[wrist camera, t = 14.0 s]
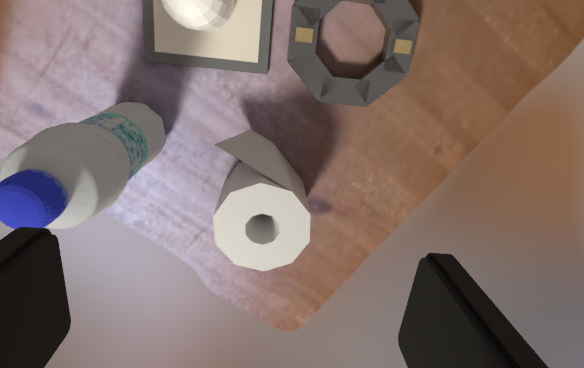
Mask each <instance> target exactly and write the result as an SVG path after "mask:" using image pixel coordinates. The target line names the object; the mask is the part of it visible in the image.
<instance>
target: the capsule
mask: <svg viewBox="0 0 584 368" xmlns="http://www.w3.org/2000/svg"><path fill="white" fill-rule="evenodd" d="M161 1H162V4H163V6H164V9H165V10H166V12H167V13H168V14H169V15H170V16H171V17H172V19H173V20H174V21H175V22H176V23H178V24H180V25H182V26H184V27H185V28H187V29H193V30H199V31H208V32H212V31H215V30H218V29H221V28H222V27H223V26H224V25H225V24H226V23H227V22H228V21H229V20H230V17H231V15H232V13H233V11H234V0H161Z"/></svg>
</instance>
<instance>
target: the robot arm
mask: <svg viewBox="0 0 584 368" xmlns="http://www.w3.org/2000/svg"><path fill="white" fill-rule="evenodd" d="M70 324H71V318H70V312H69V305H68V299H67V294H66V287H65V280H64V274H63V268H62V262H61V256H60V250H59V243H58V239H57V237H56V236H55V235H52V234H51V232H50V231H49V230H48V229H46V228H33V227H19V228H17V229H15V230H14V231H12V232H11V233H10V234H8V235H7V236H5V237H4V238H3V239H1V240H0V368H44V367H45V365H46V364H47V362H48V361H49V360H50V358H51V357H52V355H53V354H54V353H55V351H56V350H57V348H58V347H59V345H60V344H61V343H62V341H63V340H64V338H65V337H66V335H67V334H68V331H69V329H70ZM398 341H399V347H400V350H401V352H402V354H403V357H404V359H405V362H406V364H407V366H408V368H548V367H547V366H546V364H545V363H544V362H543V361H542V360H541V359H540V357H539V356H538V355H537V354H536V353H535V351H534V350H533V349H532V348H531V347H530V346H529V344H528V343H527V342H526V341H525V340H524V339H523V337H522V336H521V335H520V334H519V333H518V332H517V330H516V329H515V328H514V327H513V326H512V324H511V323H510V322H509V321H508V320H507V319H506V317H505V316H504V315H503V314H502V313H501V312H500V310H499V309H498V308H497V307H496V306H495V304H494V303H493V302H492V301H491V300H490V299H489V297H488V296H487V295H486V294H485V293H484V291H483V290H482V289H481V288H480V287H479V286H478V284H477V283H476V282H475V281H474V280H473V278H472V277H471V276H470V275H469V274H468V273H467V271H466V270H465V269H464V268H463V267H462V266H461V264H460V263H459V262H458V261H457V260H456V259H455V257H454V256H452V255H451V254H439V253H429V254H427V256H426V257H425V258H422V259H421V260H420V261H419V265H418V268H417V271H416V275H415V278H414V282H413V285H412V289H411V292H410V296H409V299H408V303H407V307H406V310H405V313H404V317H403V320H402V324H401V327H400V331H399V335H398Z"/></svg>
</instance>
